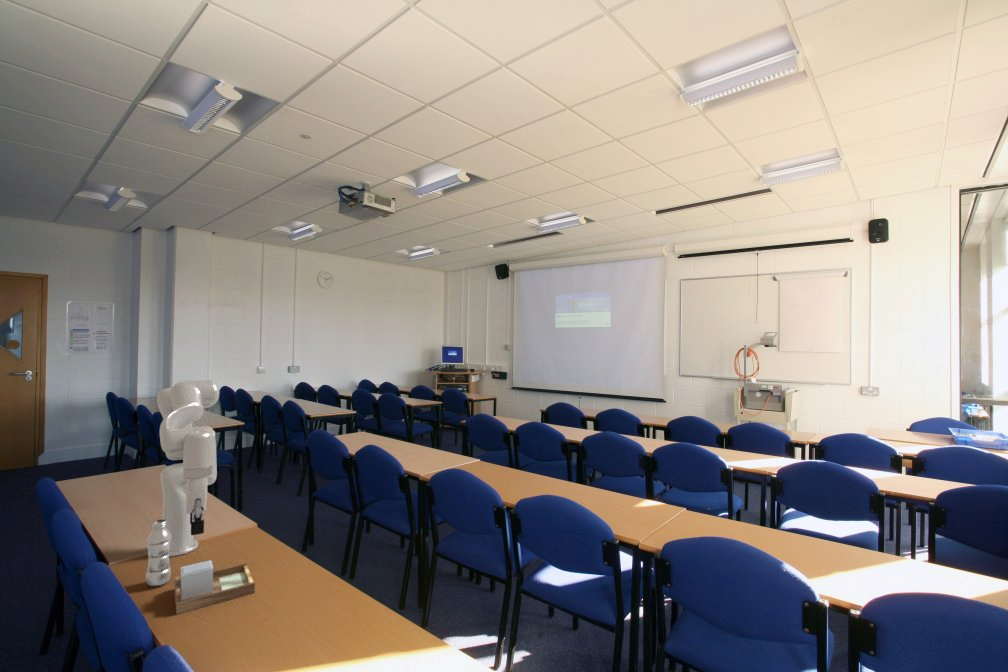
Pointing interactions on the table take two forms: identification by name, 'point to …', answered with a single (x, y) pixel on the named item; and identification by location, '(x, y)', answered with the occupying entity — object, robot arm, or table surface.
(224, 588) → the bay
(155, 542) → the plastic bottle
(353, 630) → the table surface
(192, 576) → the grey block
